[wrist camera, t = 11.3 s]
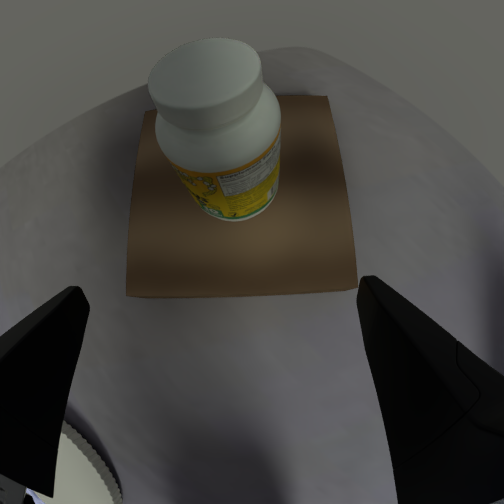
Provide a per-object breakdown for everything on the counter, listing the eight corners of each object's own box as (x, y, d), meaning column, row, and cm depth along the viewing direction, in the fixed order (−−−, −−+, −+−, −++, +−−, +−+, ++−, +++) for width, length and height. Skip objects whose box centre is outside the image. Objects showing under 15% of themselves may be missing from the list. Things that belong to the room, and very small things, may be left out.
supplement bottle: (294, 199, 17) (315, 86, 8) (213, 239, 17) (151, 157, 7) (253, 134, 18) (240, 16, 9) (180, 169, 18) (118, 66, 8)
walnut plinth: (345, 290, 19) (358, 287, 16) (145, 298, 19) (126, 295, 16) (321, 118, 21) (327, 96, 18) (157, 131, 22) (145, 111, 19)
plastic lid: (144, 470, 17) (132, 483, 14) (111, 534, 15) (102, 545, 12) (30, 377, 19) (13, 381, 16) (18, 459, 17) (6, 464, 14)
